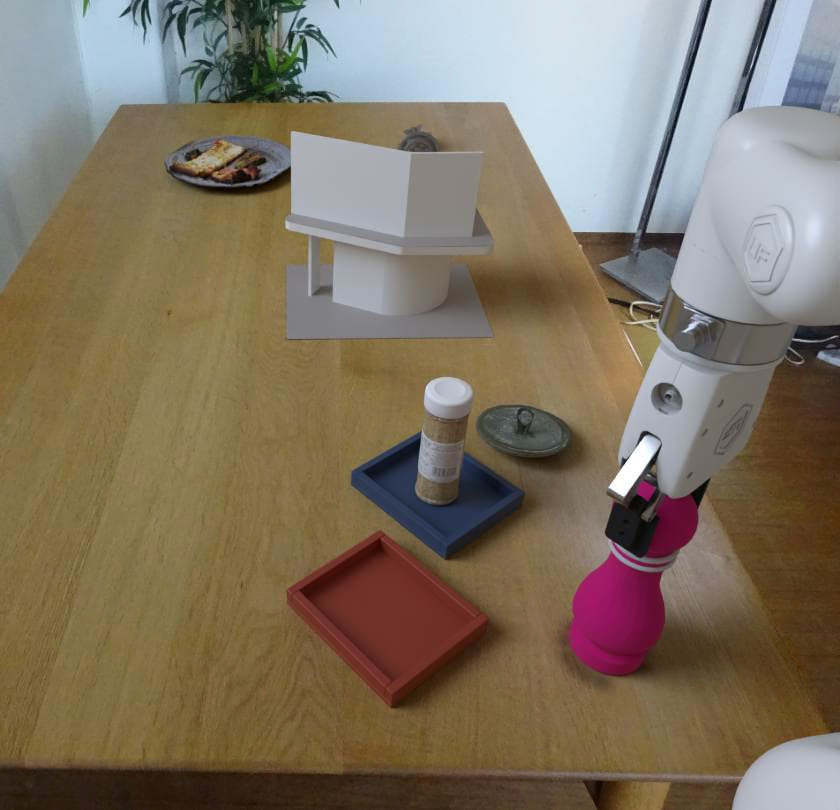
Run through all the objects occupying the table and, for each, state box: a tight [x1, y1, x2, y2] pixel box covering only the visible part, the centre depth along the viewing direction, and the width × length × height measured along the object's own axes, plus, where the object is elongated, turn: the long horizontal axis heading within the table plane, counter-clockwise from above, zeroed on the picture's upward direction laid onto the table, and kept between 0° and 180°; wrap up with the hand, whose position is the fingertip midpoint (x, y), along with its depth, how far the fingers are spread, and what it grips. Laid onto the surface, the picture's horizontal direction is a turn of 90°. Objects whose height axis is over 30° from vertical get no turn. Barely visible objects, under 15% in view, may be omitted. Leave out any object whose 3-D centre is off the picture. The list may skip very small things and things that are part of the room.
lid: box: [475, 404, 573, 458], centre depth 90 cm, size 11×10×5 cm
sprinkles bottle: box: [415, 376, 475, 505], centre depth 80 cm, size 5×5×14 cm
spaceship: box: [397, 123, 441, 152], centre depth 152 cm, size 8×35×8 cm
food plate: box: [164, 134, 291, 190], centre depth 154 cm, size 25×23×4 cm
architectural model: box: [284, 130, 496, 340], centre depth 110 cm, size 28×21×23 cm
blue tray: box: [350, 430, 526, 560], centre depth 84 cm, size 14×12×2 cm
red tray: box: [286, 529, 489, 709], centre depth 72 cm, size 14×12×2 cm
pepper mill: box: [568, 480, 699, 676], centre depth 64 cm, size 7×7×20 cm
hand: (651, 522), depth 61 cm, fingers closed on pepper mill, 6 cm apart
